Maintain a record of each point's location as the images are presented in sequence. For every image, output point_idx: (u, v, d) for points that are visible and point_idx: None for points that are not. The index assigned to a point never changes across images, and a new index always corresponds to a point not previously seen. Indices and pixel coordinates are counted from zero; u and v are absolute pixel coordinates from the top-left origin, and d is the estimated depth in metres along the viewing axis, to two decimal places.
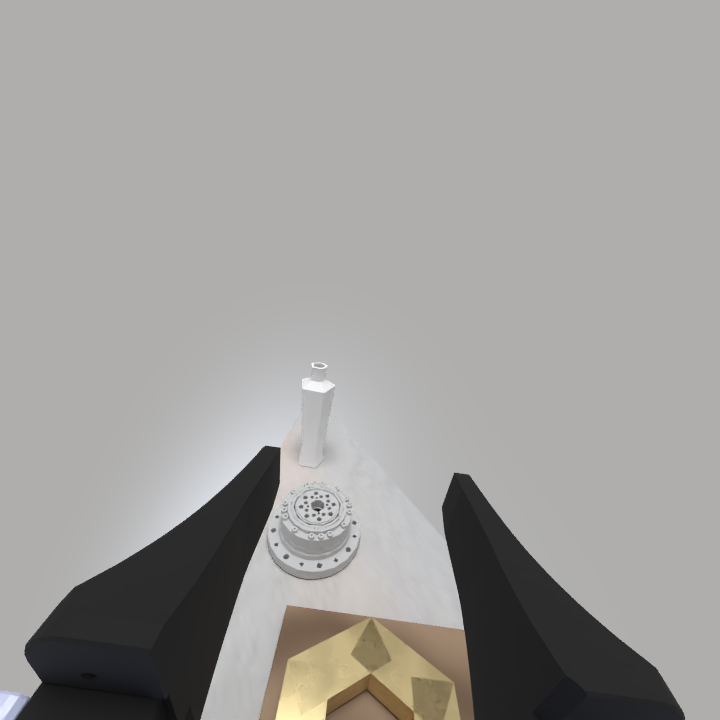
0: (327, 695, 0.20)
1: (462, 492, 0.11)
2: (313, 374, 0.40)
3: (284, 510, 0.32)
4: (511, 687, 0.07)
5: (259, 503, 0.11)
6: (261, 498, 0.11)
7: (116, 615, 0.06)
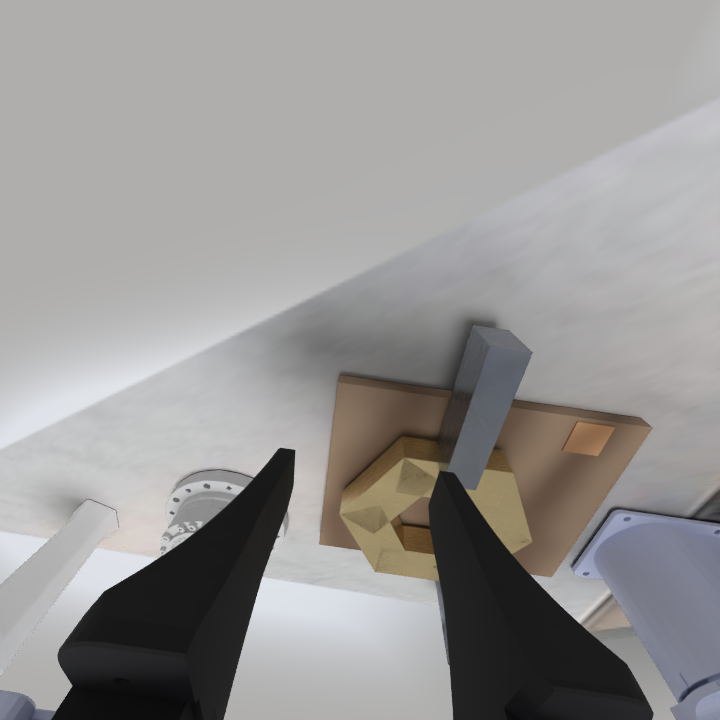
0: (401, 547, 0.23)
1: (446, 490, 0.11)
2: None
3: None
4: (486, 684, 0.07)
5: (276, 505, 0.11)
6: (278, 501, 0.11)
7: (149, 619, 0.06)
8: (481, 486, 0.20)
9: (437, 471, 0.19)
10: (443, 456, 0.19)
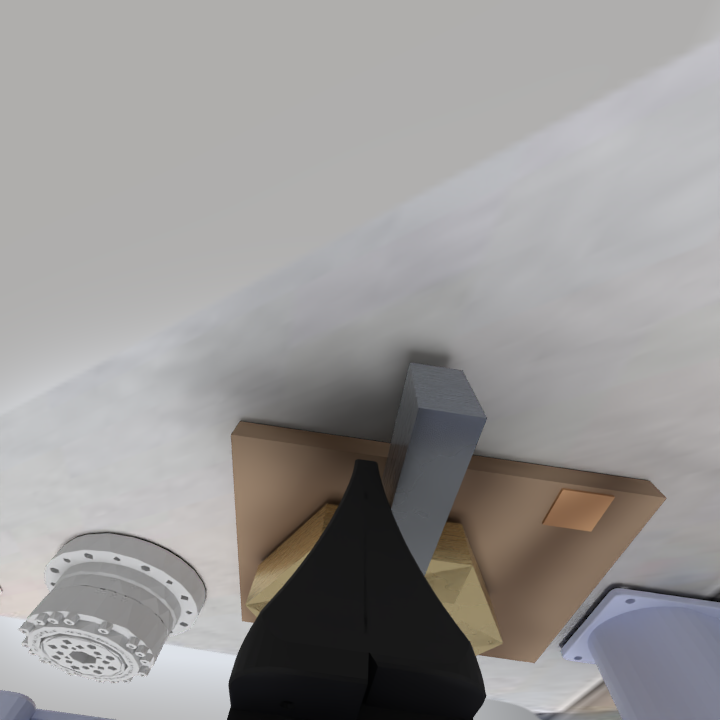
0: None
1: None
2: None
3: (115, 680, 0.19)
4: None
5: None
6: None
7: (319, 643, 0.06)
8: (430, 580, 0.14)
9: None
10: None
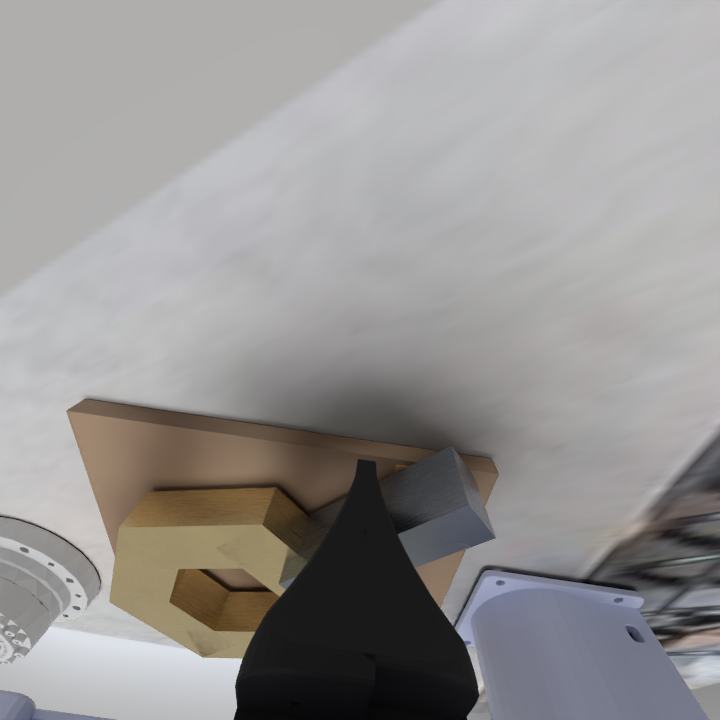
0: (167, 596, 0.17)
1: (356, 477, 0.11)
2: None
3: None
4: None
5: None
6: None
7: (326, 644, 0.06)
8: None
9: (284, 558, 0.14)
10: (304, 547, 0.14)
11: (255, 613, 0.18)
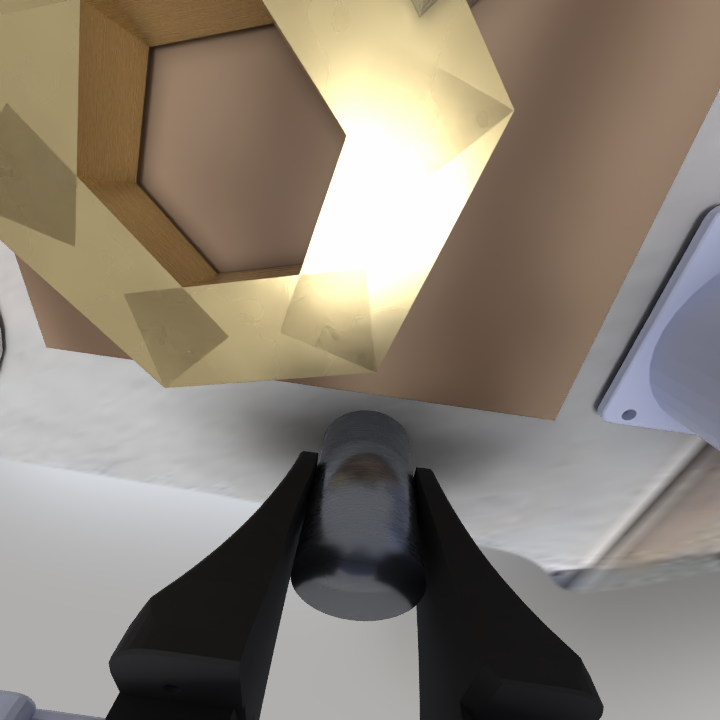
0: (72, 166, 0.07)
1: (420, 486, 0.11)
2: None
3: None
4: (446, 678, 0.07)
5: (303, 509, 0.11)
6: (304, 505, 0.11)
7: (199, 627, 0.06)
8: (413, 89, 0.06)
9: None
10: None
11: (267, 273, 0.09)
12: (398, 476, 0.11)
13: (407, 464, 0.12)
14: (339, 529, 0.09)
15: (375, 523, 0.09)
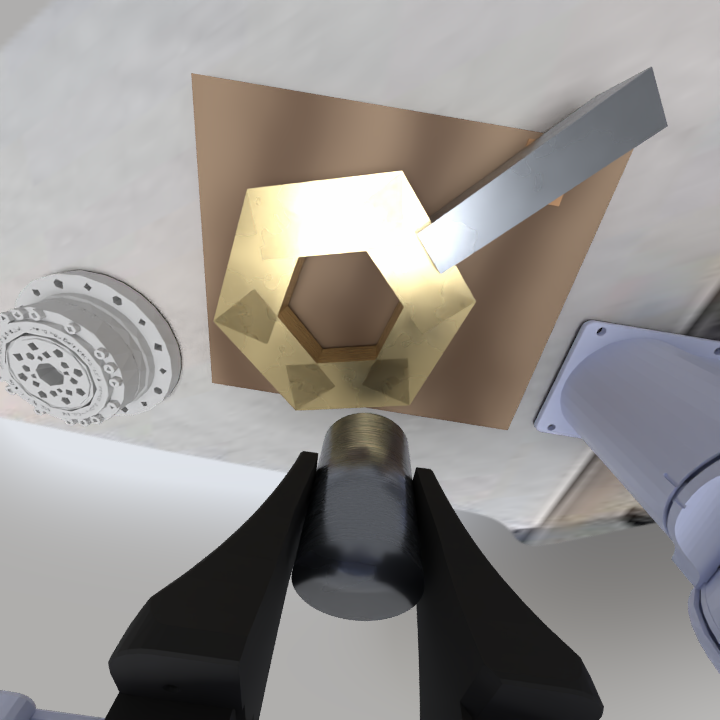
0: (274, 311, 0.16)
1: (420, 486, 0.11)
2: None
3: (84, 421, 0.19)
4: (446, 678, 0.07)
5: (302, 509, 0.11)
6: (304, 505, 0.11)
7: (199, 627, 0.06)
8: (433, 292, 0.15)
9: (414, 228, 0.14)
10: (436, 216, 0.14)
11: (355, 354, 0.18)
12: (395, 477, 0.11)
13: (405, 464, 0.12)
14: (336, 531, 0.09)
15: (371, 524, 0.09)
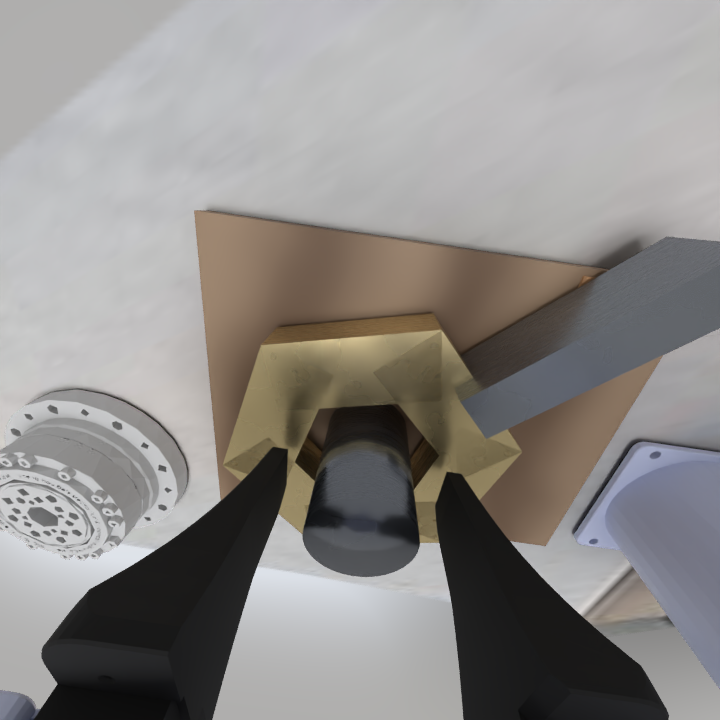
0: (292, 455, 0.14)
1: (454, 491, 0.11)
2: None
3: (82, 556, 0.17)
4: (498, 685, 0.07)
5: (268, 504, 0.11)
6: (270, 500, 0.11)
7: (133, 617, 0.06)
8: (473, 443, 0.13)
9: (454, 384, 0.12)
10: (479, 370, 0.12)
11: None
12: (393, 450, 0.12)
13: (402, 441, 0.14)
14: (340, 492, 0.10)
15: (371, 486, 0.10)
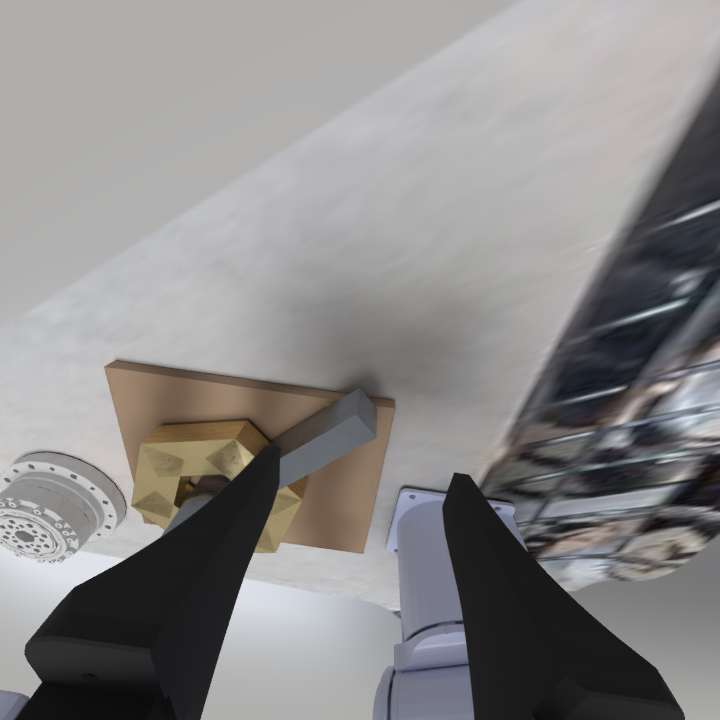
0: (172, 500, 0.24)
1: (462, 492, 0.11)
2: None
3: (51, 560, 0.26)
4: (511, 687, 0.07)
5: (259, 503, 0.11)
6: (261, 499, 0.11)
7: (116, 615, 0.06)
8: None
9: None
10: None
11: None
12: None
13: None
14: None
15: None
